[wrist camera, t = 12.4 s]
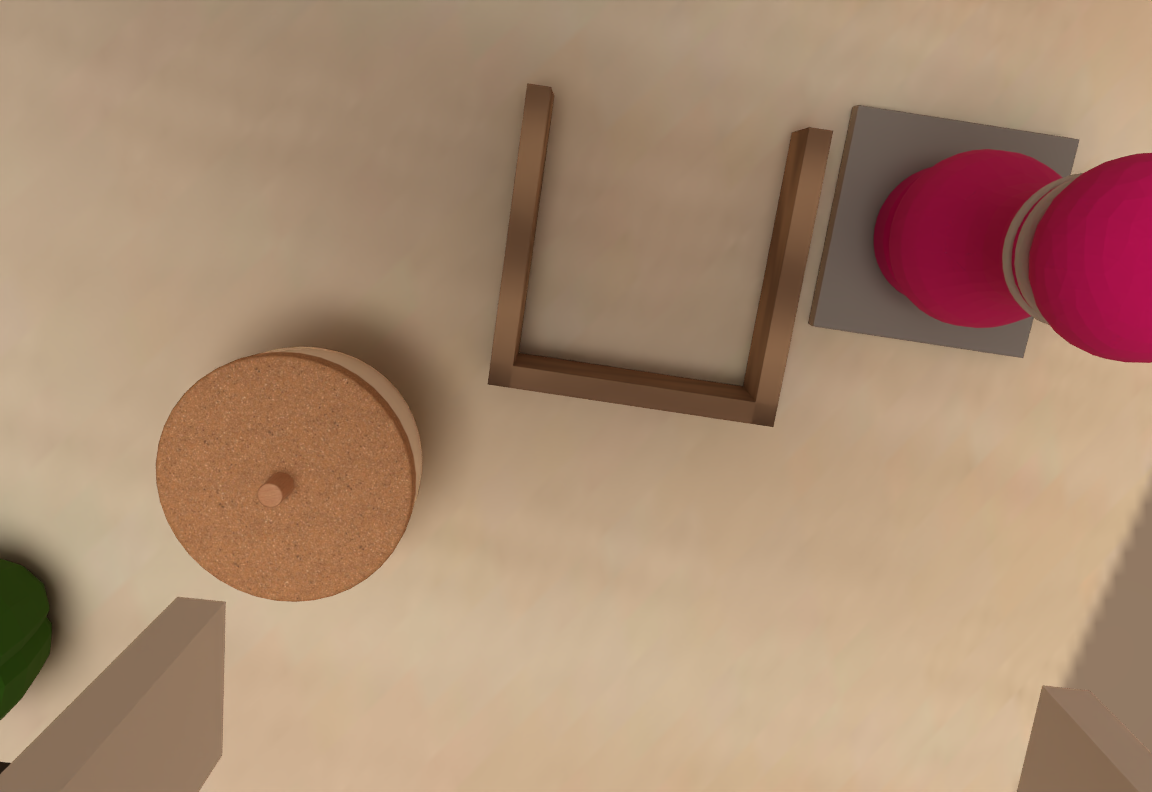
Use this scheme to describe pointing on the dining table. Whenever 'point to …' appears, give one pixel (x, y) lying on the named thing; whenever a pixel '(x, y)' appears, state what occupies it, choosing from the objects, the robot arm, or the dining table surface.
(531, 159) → the u-shaped frame
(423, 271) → the dining table surface
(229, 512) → the lidded jar
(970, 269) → the pepper mill
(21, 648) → the bell pepper
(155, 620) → the robot arm
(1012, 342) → the coaster
